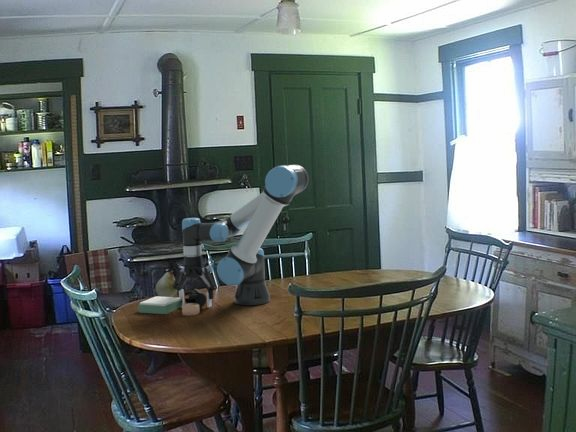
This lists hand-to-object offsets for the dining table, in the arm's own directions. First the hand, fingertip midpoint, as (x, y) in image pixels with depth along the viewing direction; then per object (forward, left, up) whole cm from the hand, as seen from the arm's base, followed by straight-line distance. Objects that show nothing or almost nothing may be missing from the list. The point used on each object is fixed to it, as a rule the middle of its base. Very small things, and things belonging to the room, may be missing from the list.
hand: (195, 306), depth 290 cm
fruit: (+22, -13, 0) cm, 25 cm away
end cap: (0, 0, -1) cm, 1 cm away
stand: (+12, +8, 0) cm, 14 cm away
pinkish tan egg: (-4, +11, 0) cm, 12 cm away
